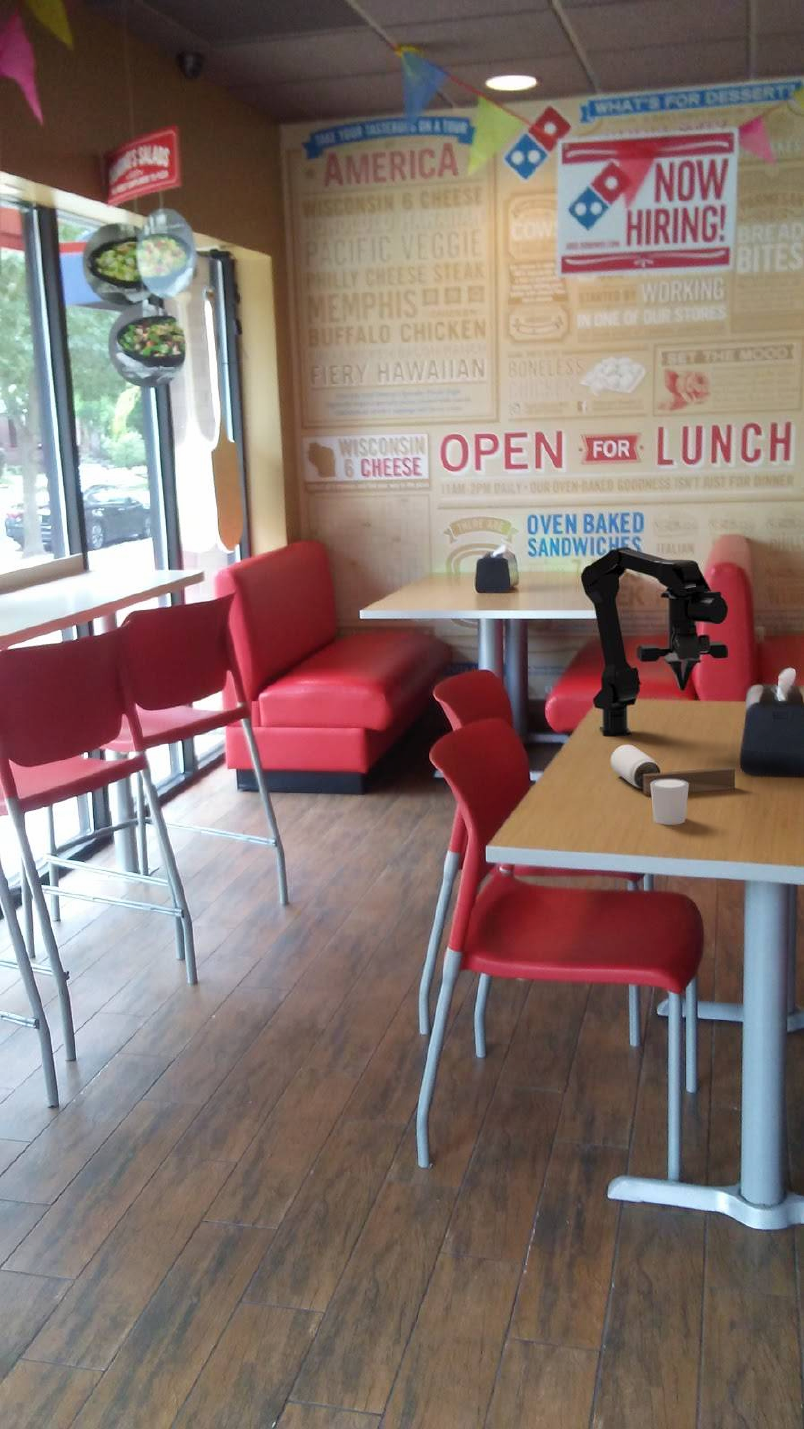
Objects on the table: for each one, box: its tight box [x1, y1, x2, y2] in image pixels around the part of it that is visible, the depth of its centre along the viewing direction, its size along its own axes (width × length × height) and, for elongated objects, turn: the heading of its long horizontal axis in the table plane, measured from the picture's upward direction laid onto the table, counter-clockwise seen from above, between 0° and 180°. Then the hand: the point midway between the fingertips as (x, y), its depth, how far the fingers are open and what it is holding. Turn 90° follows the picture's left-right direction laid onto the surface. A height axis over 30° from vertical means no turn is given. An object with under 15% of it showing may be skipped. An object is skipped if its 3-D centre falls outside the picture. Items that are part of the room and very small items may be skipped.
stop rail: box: [642, 766, 736, 797], centre depth 252 cm, size 2×18×4 cm, turn 97°
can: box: [610, 744, 662, 790], centre depth 260 cm, size 6×6×12 cm
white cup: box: [650, 779, 689, 826], centre depth 235 cm, size 7×7×7 cm
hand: (682, 690), depth 281 cm, fingers closed
